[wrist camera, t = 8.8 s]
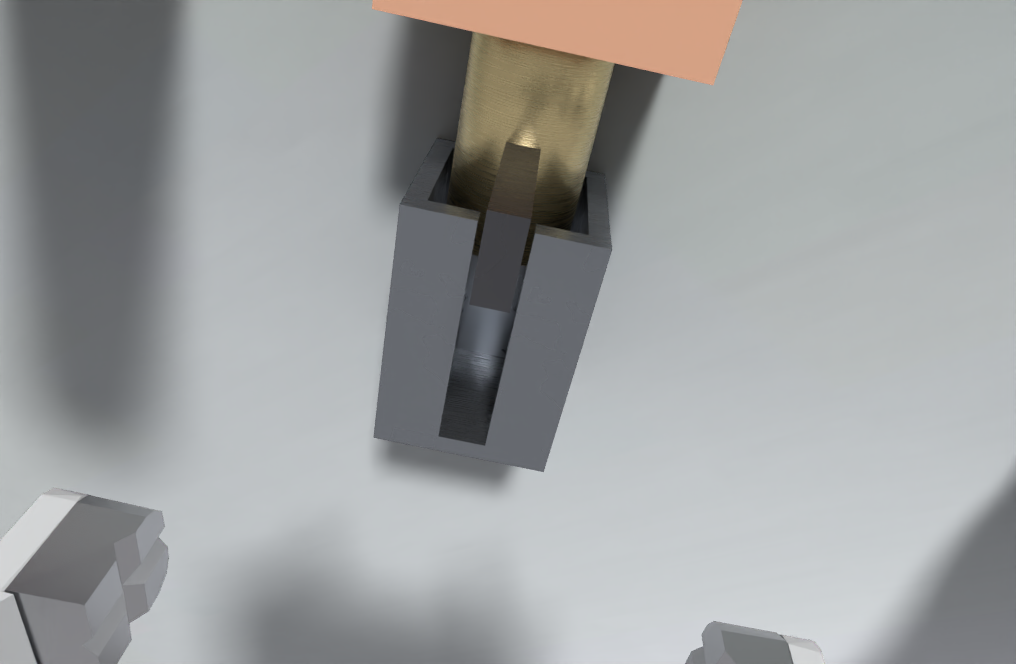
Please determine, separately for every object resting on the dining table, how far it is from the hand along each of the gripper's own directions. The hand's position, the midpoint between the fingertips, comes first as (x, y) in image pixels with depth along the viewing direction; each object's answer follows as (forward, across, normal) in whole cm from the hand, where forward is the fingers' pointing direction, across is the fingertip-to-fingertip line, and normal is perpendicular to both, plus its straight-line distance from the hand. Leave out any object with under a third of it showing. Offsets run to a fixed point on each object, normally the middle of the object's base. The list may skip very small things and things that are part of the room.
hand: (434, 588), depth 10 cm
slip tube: (+21, 0, -3) cm, 22 cm away
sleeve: (+23, 0, +6) cm, 23 cm away
